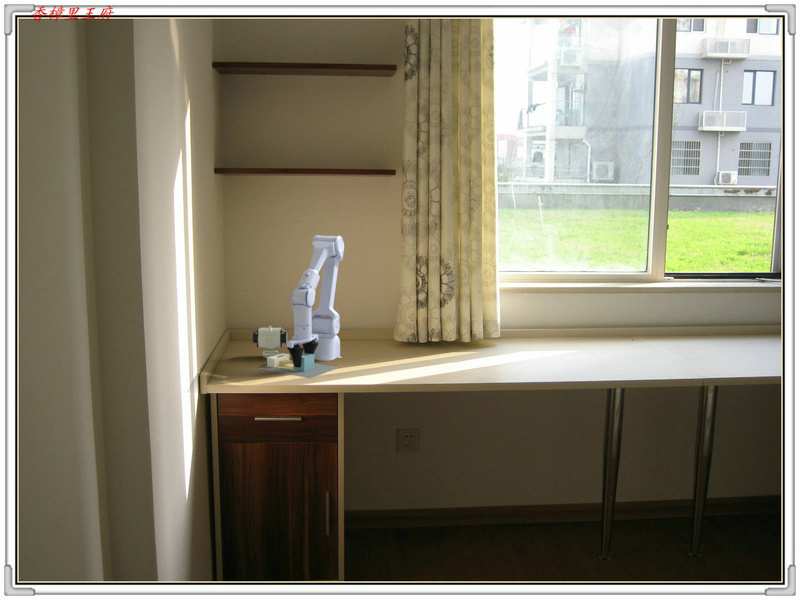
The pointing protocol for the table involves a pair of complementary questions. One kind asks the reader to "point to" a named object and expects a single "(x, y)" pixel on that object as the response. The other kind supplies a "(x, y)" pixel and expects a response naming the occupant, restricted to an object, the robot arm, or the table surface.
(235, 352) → the table surface
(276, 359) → the header
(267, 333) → the pneumatic valve
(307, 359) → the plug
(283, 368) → the mat
